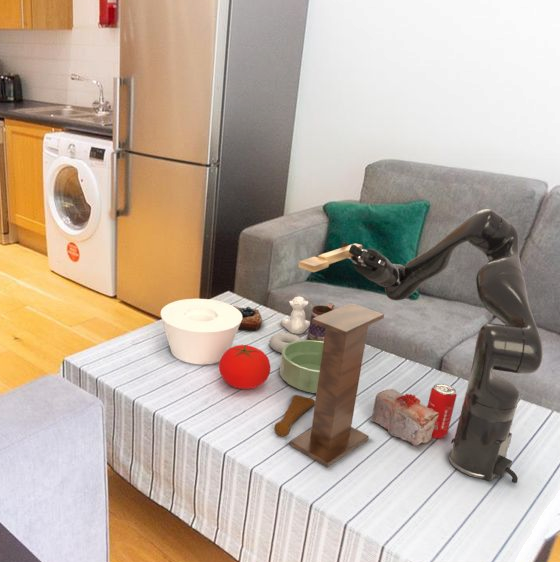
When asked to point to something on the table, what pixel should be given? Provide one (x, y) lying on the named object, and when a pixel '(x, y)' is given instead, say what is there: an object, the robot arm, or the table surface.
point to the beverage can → (442, 407)
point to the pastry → (250, 319)
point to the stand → (337, 385)
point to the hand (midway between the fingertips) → (346, 246)
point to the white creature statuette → (297, 317)
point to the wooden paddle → (326, 259)
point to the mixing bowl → (302, 364)
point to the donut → (282, 340)
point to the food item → (404, 416)
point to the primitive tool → (293, 414)
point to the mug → (315, 330)
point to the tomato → (244, 367)
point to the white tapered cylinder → (200, 329)
